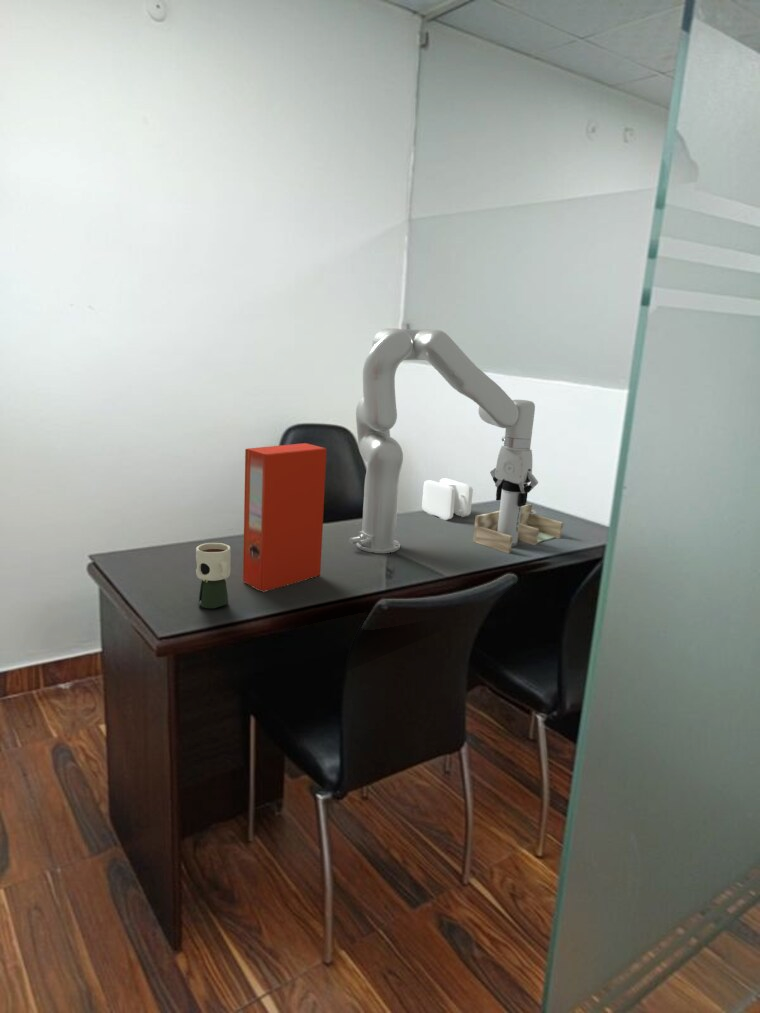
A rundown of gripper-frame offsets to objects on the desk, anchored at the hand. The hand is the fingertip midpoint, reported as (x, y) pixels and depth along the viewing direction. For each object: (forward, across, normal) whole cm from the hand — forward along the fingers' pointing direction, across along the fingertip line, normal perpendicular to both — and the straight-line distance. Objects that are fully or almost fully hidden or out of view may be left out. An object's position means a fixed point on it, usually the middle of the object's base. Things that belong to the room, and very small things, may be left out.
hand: (510, 502), depth 197 cm
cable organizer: (+13, -32, +9) cm, 36 cm away
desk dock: (+13, 0, +7) cm, 15 cm away
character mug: (+13, -9, -93) cm, 94 cm away
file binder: (+13, -13, -72) cm, 74 cm away
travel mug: (+13, 0, 0) cm, 13 cm away
